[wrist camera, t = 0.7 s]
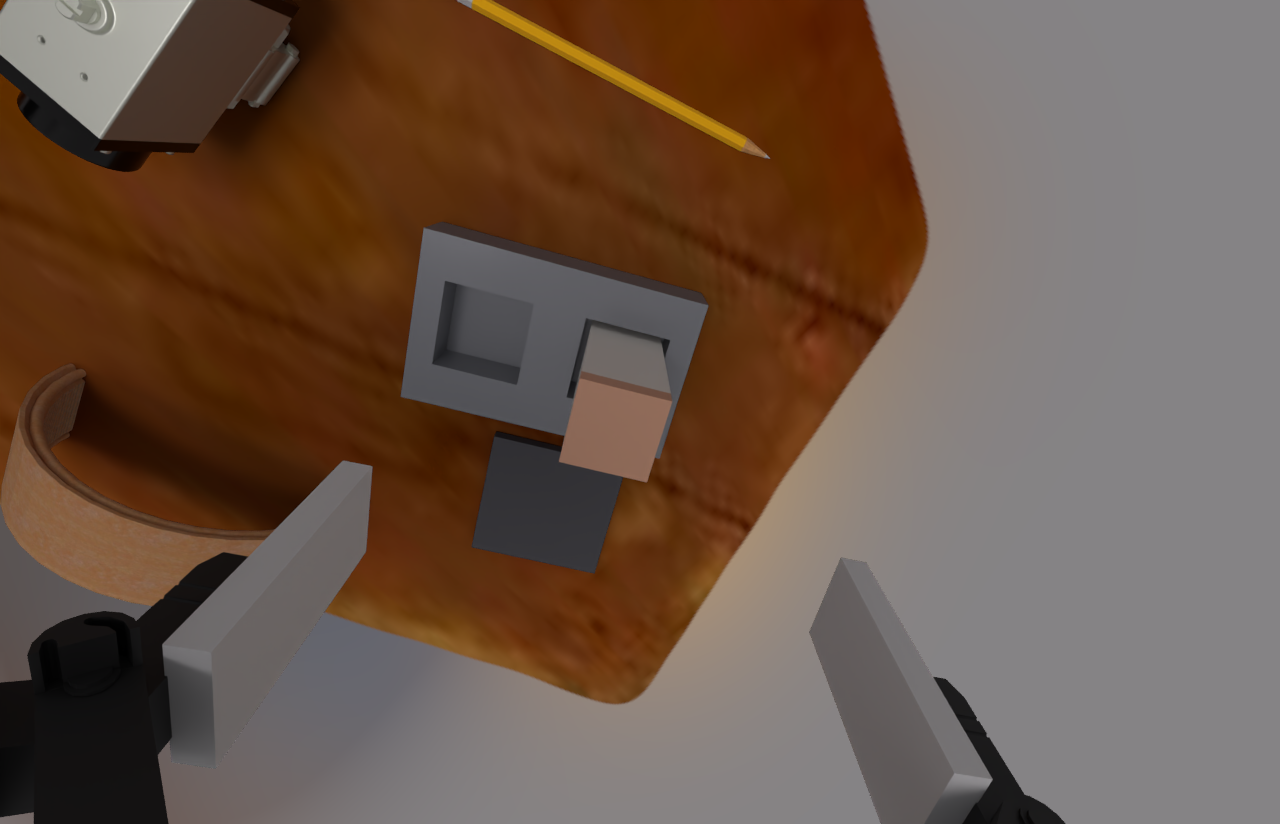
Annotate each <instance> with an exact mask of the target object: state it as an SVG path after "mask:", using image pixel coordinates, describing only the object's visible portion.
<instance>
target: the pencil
mask: <svg viewBox="0 0 1280 824" xmlns="http://www.w3.org/2000/svg"><path fill="white" fill-rule="evenodd" d="M456 1H458V2H460V3H462V4H464V5H466V6H468V7H469V8H471V9H473V10H475V11H477V12H479V13H481V14H483V15H485V16H486V17H488V18H490V19H492V20H494V21H496V22H498V23H500V24H502V25H503V26H505V27H507V28H509V29H511V30H513V31H515V32H517V33H518V34H520V35H522V36H524V37H526V38H528V39H530V40H532V41H534V42H535V43H537V44H539V45H541V46H543V47H545V48H547V49H549V50H550V51H552V52H554V53H556V54H558V55H560V56H562V57H564V58H566V59H567V60H569V61H571V62H573V63H575V64H577V65H579V66H581V67H582V68H584V69H586V70H588V71H590V72H592V73H594V74H596V75H598V76H599V77H601V78H603V79H605V80H607V81H609V82H611V83H613V84H614V85H616V86H618V87H620V88H622V89H624V90H626V91H628V92H630V93H631V94H633V95H635V96H637V97H639V98H641V99H643V100H645V101H646V102H648V103H650V104H652V105H654V106H656V107H658V108H660V109H662V110H663V111H665V112H667V113H669V114H671V115H673V116H675V117H677V118H679V119H680V120H682V121H684V122H686V123H688V124H690V125H692V126H694V127H695V128H697V129H699V130H701V131H703V132H705V133H707V134H709V135H711V136H712V137H714V138H716V139H718V140H720V141H722V142H724V143H726V144H727V145H729V146H731V147H733V148H735V149H737V150H739V151H741V152H745V153H748V154H752V155H756V156H760V157H763V158H769V157H768V156H767V155H766V154H765V153H764V152H763V151H762V150H761V149H760V148H759V147H757V146H756V145H755V144H754V143H753V142H752V141H751V140H749V139H748V138H747V137H745V136H743V135H742V134H740V133H738V132H736V131H734V130H732V129H730V128H729V127H727V126H725V125H723V124H721V123H719V122H717V121H715V120H714V119H712V118H710V117H708V116H706V115H704V114H702V113H701V112H699V111H697V110H695V109H693V108H691V107H689V106H688V105H686V104H684V103H682V102H680V101H678V100H676V99H675V98H673V97H671V96H669V95H667V94H665V93H663V92H661V91H660V90H658V89H656V88H654V87H652V86H650V85H648V84H647V83H645V82H643V81H641V80H639V79H637V78H635V77H634V76H632V75H630V74H628V73H626V72H624V71H622V70H620V69H619V68H617V67H615V66H613V65H611V64H609V63H607V62H606V61H604V60H602V59H600V58H598V57H596V56H594V55H593V54H591V53H589V52H587V51H585V50H583V49H581V48H580V47H578V46H576V45H574V44H572V43H570V42H568V41H566V40H565V39H563V38H561V37H559V36H557V35H555V34H553V33H552V32H550V31H548V30H546V29H544V28H542V27H540V26H539V25H537V24H535V23H533V22H531V21H529V20H527V19H525V18H524V17H522V16H520V15H518V14H516V13H514V12H512V11H511V10H509V9H507V8H505V7H503V6H501V5H499V4H498V3H496V2H494V1H492V0H456Z"/></svg>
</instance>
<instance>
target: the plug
mask: <svg viewBox="0 0 1280 824" xmlns="http://www.w3.org/2000/svg"><path fill="white" fill-rule="evenodd" d="M671 404H672V397H671V391H670V386H669V381H668V375H667V370H666V364H665V359H664V354H663V348H662V343H661V338H660V337H656V336H653V335H649V334H645V333H641V332H638V331H634V330H630V329H626V328H622V327H619V326H615V325H611V324H607V323H603V322H600V321H596V320H592V324H591V328H590V332H589V336H588V340H587V344H586V348H585V352H584V356H583V360H582V364H581V368H580V372H579V376H578V380H577V385H576V389H575V393H574V398H573V402H572V406H571V411H570V415H569V419H568V424H567V428H566V432H565V437H564V441H563V446H562V450H561V454H560V459H559V462H562V463H566V464H570V465H574V466H579V467H583V468H587V469H591V470H596V471H600V472H604V473H609V474H613V475H617V476H621V477H626V478H630V479H634V480H638V481H643V482H647V480H648V477H649V474H650V471H651V468H652V464H653V461H654V458H655V455H656V452H657V449H658V445H659V442H660V439H661V436H662V433H663V430H664V427H665V423H666V420H667V417H668V414H669V411H670V408H671Z"/></svg>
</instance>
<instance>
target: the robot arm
mask: <svg viewBox="0 0 1280 824" xmlns="http://www.w3.org/2000/svg"><path fill="white" fill-rule="evenodd" d="M371 479H372V466H369V465H363V464H358V463H353V462H348V461H342V462H341V463H340V464H339V465H338V466H337V467H336V468H335V469H334V470H333V471H332V472H331V473H330V474H329V475H328V476H327V477H326V478H325V479H324V480H323V481H322V482H321V483H320V484H319V485H318V486H317V487H316V488H315V489H314V490H313V491H312V492H311V494H310V495H309V496H308V497H307V498H306V499H305V500H304V501H303V502H302V503H301V504H300V505H299V506H298V507H297V508H296V509H295V510H294V511H293V512H292V513H291V514H290V515H289V516H288V517H287V518H286V519H285V520H284V521H283V522H282V523H281V524H280V525H279V526H278V527H277V528H276V529H275V530H274V531H273V532H272V533H271V534H270V535H269V536H268V537H267V538H266V539H265V540H264V541H263V542H262V543H261V544H260V545H259V546H258V547H257V548H256V549H255V551H254V552H253V553H252V554H251V555H250V556H249V557H248V556H243V555H237V554H232V553H226V552H222V553H220V554H218V555H216V556H214V557H212V558H210V559H208V560H206V561H204V562H202V563H200V564H198V565H197V566H196V567H195V568H194V569H192V570H191V571H190V572H189V573H188V574H187V575H186V576H185V577H184V578H183V579H182V580H181V581H179V584H178V585H175V586H174V587H173V588H172V589H171V590H170V591H169V592H167V593H166V594H165V595H164V598H163V599H160V600H159V601H158V602H157V603H155V604H154V605H153V606H152V607H151V608H150V609H149V610H148V611H147V612H146V613H145V614H144V615H142V616H141V617H140V618H139V619H138V620H137V621H135V619H134V618H132V617H130V616H128V615H126V614H123V613H119V612H107V611H103V612H95V613H88V614H83V615H80V616H76V617H73V618H70V619H67V620H64V621H62V622H60V623H58V624H56V625H55V626H53V627H51V628H49V629H47V630H46V631H44V632H43V633H42V634H41V635H40V636H39V637H38V638H37V639H36V640H35V641H34V642H32V644H31V647H30V650H29V652H28V655H27V656H28V661H29V666H30V672H31V677H32V680H26V681H15V682H3V683H0V817H4V816H12V815H18V814H25V813H31V812H34V824H168V818H167V813H166V806H165V799H164V794H163V787H162V781H161V774H160V768H159V762H158V754H159V752H160V751H161V750H162V749H163V748H164V747H165V745H166V744H167V743H168V742H169V740H170V750H171V762H174V763H180V764H187V765H194V766H201V767H208V768H217V766H218V765H219V763H220V762H221V761H222V759H223V758H224V756H225V755H226V753H227V752H228V750H229V749H230V748H231V746H232V745H233V743H234V742H235V740H236V739H237V738H238V736H239V735H240V733H241V732H242V730H243V729H244V727H245V726H246V725H247V723H248V722H249V720H250V719H251V717H252V716H253V714H254V713H255V711H256V710H257V709H258V707H259V706H260V704H261V703H262V701H263V700H264V698H265V697H266V695H267V694H268V693H269V691H270V690H271V688H272V687H273V686H274V684H275V683H276V681H277V680H278V678H279V677H280V675H281V674H282V672H283V671H284V670H285V668H286V667H287V665H288V664H289V662H290V661H291V659H292V658H293V657H294V655H295V654H296V652H297V651H298V649H299V648H300V646H301V645H302V643H303V642H304V641H305V639H306V638H307V636H308V635H309V633H310V632H311V630H312V629H313V628H314V626H315V625H316V623H317V622H318V620H319V619H320V618H321V616H322V615H323V613H324V612H325V610H326V609H327V607H328V606H329V605H330V603H331V602H332V600H333V599H334V597H335V596H336V594H337V593H338V592H339V590H340V589H341V587H342V586H343V584H344V583H345V581H346V580H347V579H348V577H349V576H350V574H351V573H352V571H353V570H354V568H355V567H356V566H357V564H358V563H359V561H360V560H361V558H362V557H363V555H364V554H365V552H366V545H367V532H368V519H369V506H370V492H371ZM809 633H810V635H811V638H812V641H813V644H814V646H815V649H816V652H817V654H818V657H819V660H820V662H821V665H822V668H823V670H824V673H825V676H826V678H827V681H828V684H829V686H830V689H831V692H832V694H833V697H834V700H835V702H836V705H837V708H838V710H839V713H840V716H841V719H842V721H843V724H844V726H845V729H846V732H847V735H848V737H849V740H850V742H851V745H852V748H853V751H854V753H855V756H856V759H857V761H858V764H859V767H860V769H861V772H862V775H863V777H864V780H865V783H866V785H867V788H868V791H869V793H870V796H871V798H872V801H873V804H874V806H875V809H876V812H877V815H878V817H879V820H880V823H881V824H1065V823H1064V821H1063V820H1062V819H1061V818H1060V817H1059V816H1058V815H1057V814H1056V813H1055V812H1053V811H1052V810H1051V809H1050V808H1048V807H1047V806H1046V805H1045V804H1043V803H1041V802H1039V801H1037V800H1035V799H1034V798H1032V797H1030V796H1026V795H1024V793H1023V792H1022V790H1021V788H1020V787H1019V785H1018V783H1017V782H1016V780H1015V778H1014V777H1013V775H1012V774H1011V772H1010V771H1009V769H1008V767H1007V766H1006V764H1005V762H1004V761H1003V759H1002V758H1001V756H1000V755H999V753H998V751H997V750H996V748H995V746H994V745H993V743H992V742H991V740H990V738H988V737H987V736H986V732H985V730H984V729H983V727H982V725H981V724H980V722H979V721H977V720H976V718H977V717H976V716H975V714H974V712H973V711H972V709H971V708H970V706H969V704H968V703H967V701H966V699H965V698H964V697H963V696H962V695H961V694H960V693H959V692H958V691H957V690H956V689H955V688H954V687H953V686H952V685H951V684H950V683H949V682H948V681H947V680H946V679H943V678H937V677H933V676H932V674H931V673H930V671H929V669H928V667H927V666H926V665H925V662H924V661H923V659H922V657H921V656H920V654H919V652H918V650H917V649H916V647H915V645H914V643H913V642H912V640H911V638H910V637H909V635H908V633H907V631H906V630H905V628H904V626H903V625H902V623H901V621H900V620H899V618H898V616H897V614H896V613H895V611H894V609H893V608H892V606H891V604H890V603H889V601H888V599H887V597H886V595H885V594H884V592H883V591H882V589H881V587H880V585H879V583H878V582H877V580H876V578H875V577H874V575H873V573H872V571H871V570H870V568H869V566H868V565H867V563H866V562H862V561H857V560H851V559H846V558H840V561H839V563H838V566H837V568H836V570H835V572H834V575H833V577H832V580H831V582H830V584H829V587H828V589H827V591H826V594H825V596H824V598H823V601H822V603H821V606H820V608H819V611H818V613H817V615H816V618H815V620H814V622H813V625H812V627H811V630H810V631H809Z"/></svg>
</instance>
